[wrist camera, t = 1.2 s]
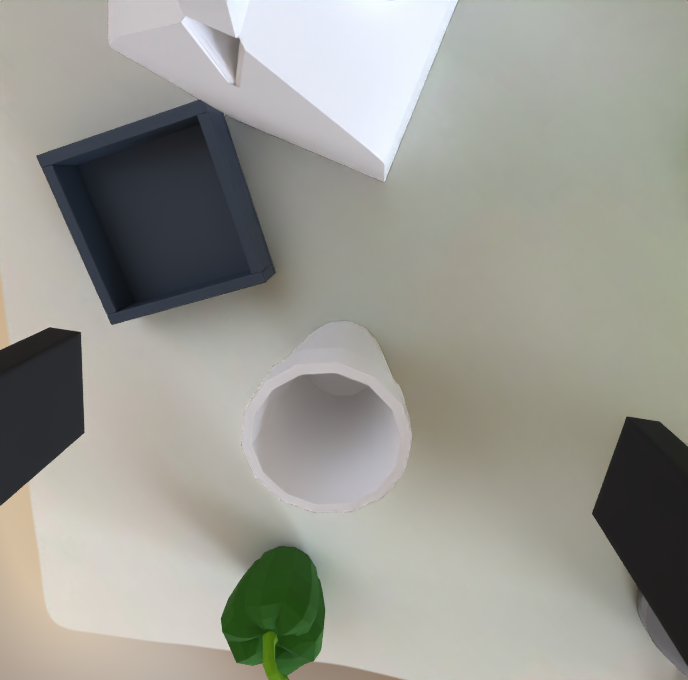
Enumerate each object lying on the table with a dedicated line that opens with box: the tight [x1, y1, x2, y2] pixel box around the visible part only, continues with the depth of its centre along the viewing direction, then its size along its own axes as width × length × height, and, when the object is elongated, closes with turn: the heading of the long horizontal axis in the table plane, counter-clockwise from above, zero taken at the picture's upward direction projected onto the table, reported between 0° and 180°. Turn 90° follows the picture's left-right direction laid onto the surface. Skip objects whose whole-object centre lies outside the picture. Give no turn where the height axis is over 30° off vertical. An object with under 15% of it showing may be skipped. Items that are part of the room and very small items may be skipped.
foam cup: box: [241, 321, 412, 513], centre depth 33 cm, size 10×9×13 cm
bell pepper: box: [221, 546, 325, 680], centre depth 42 cm, size 8×8×10 cm
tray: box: [36, 100, 276, 325], centre depth 35 cm, size 12×12×4 cm
